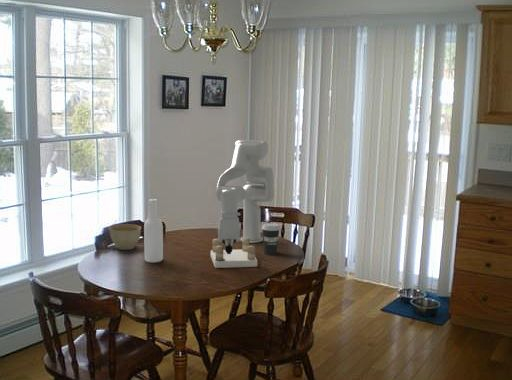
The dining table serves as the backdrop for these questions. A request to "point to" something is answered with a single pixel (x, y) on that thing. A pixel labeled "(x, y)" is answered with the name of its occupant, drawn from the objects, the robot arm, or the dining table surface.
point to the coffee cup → (270, 238)
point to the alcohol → (153, 235)
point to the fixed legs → (245, 247)
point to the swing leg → (219, 252)
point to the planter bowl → (125, 236)
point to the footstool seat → (233, 259)
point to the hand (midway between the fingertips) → (228, 253)
